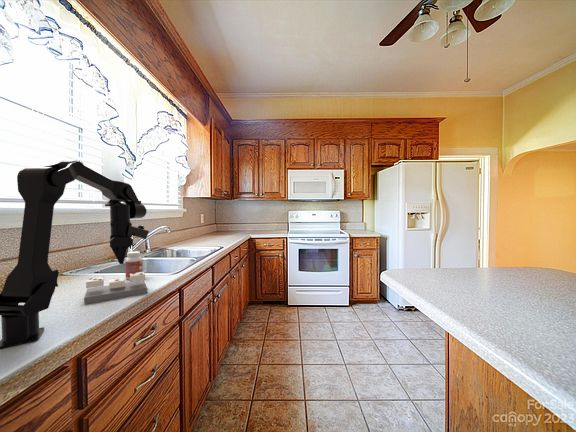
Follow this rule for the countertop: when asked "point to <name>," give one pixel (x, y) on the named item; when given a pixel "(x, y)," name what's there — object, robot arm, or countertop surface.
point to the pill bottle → (133, 263)
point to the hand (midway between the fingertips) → (121, 263)
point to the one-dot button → (117, 283)
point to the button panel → (114, 292)
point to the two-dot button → (137, 276)
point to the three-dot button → (95, 282)
